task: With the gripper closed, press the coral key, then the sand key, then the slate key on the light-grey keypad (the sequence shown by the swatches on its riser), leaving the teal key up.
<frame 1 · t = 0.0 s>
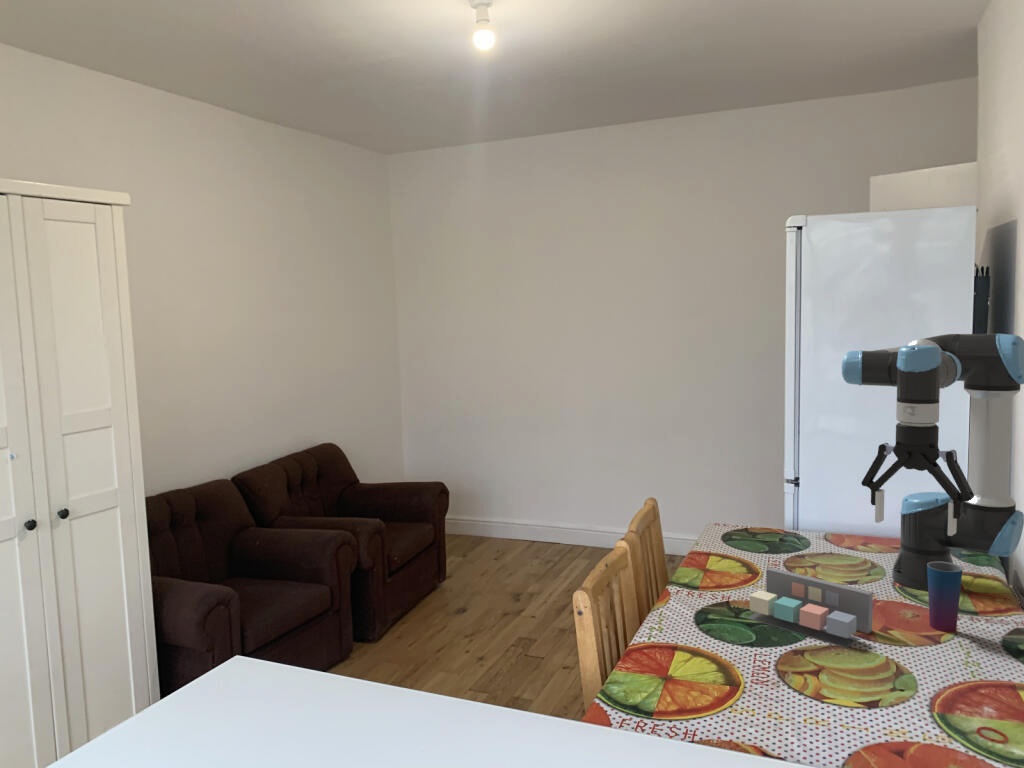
hand: (914, 527, 153), 28 cm above the table, fingers open, 13 cm apart
keypad: (803, 630, 172), on the table
teal key: (788, 609, 172), point 5 cm above the table, slide at 0.0 cm
coral key: (814, 616, 168), point 5 cm above the table, slide at 0.0 cm
sand key: (763, 602, 177), point 5 cm above the table, slide at 0.0 cm
slate key: (841, 624, 164), point 5 cm above the table, slide at 0.0 cm
cup: (942, 632, 169), on the table
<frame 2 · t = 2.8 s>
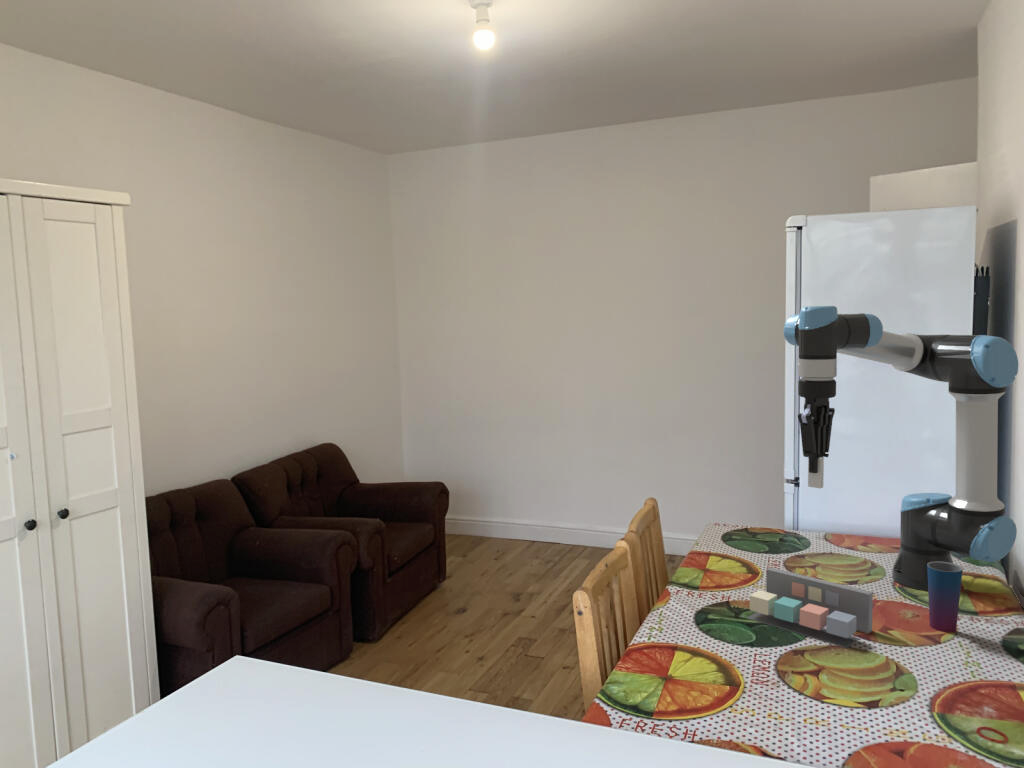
hand: (815, 486, 165), 34 cm above the table, fingers closed
nothing on the table moved.
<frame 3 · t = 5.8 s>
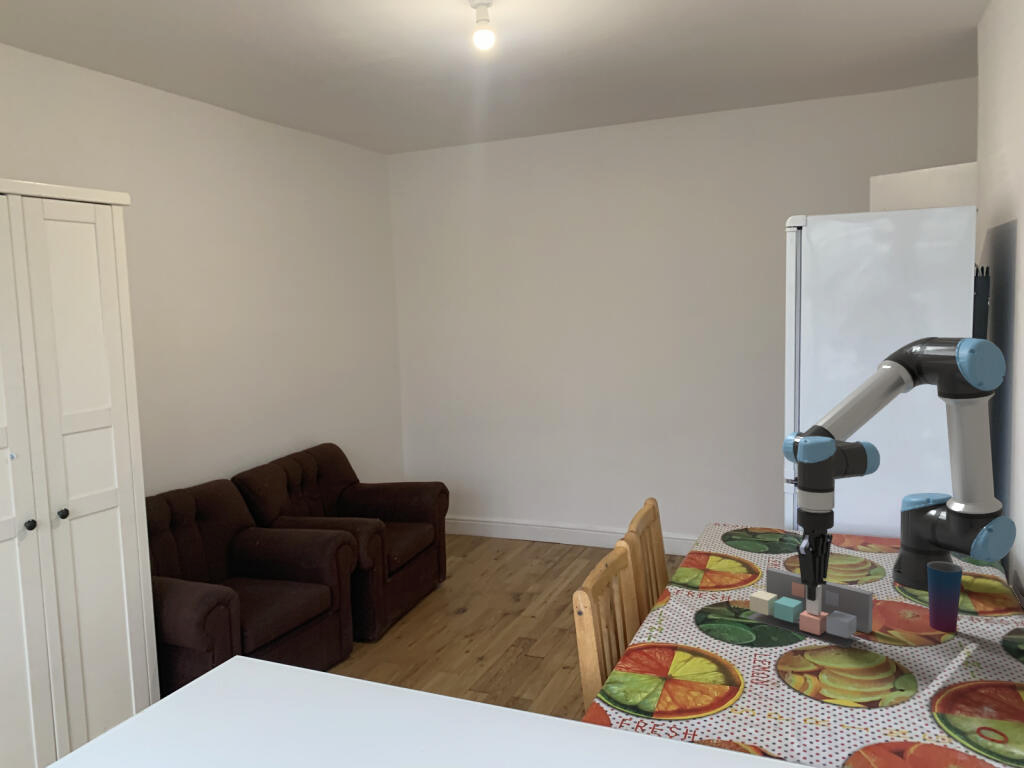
hand: (813, 612, 168), 6 cm above the table, fingers closed
coral key: (814, 621, 168), point 4 cm above the table, slide at 1.1 cm, touching gripper
everything else where it was.
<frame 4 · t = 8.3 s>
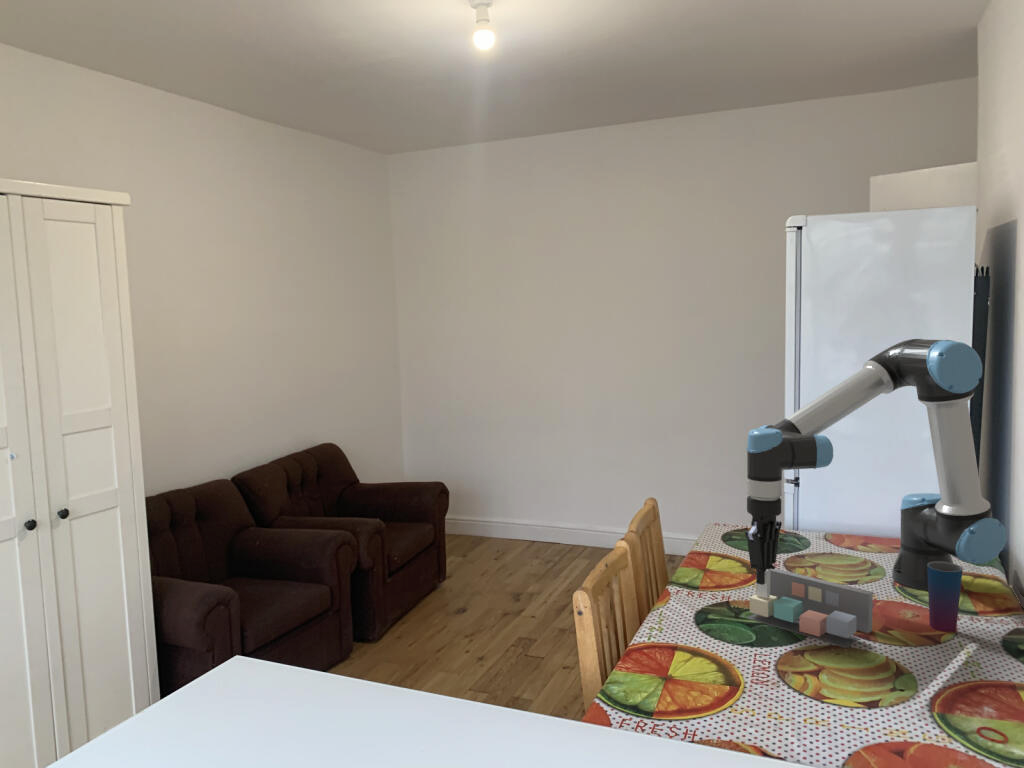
hand: (763, 596, 176), 6 cm above the table, fingers closed
coral key: (814, 623, 168), point 3 cm above the table, slide at 1.5 cm
sand key: (763, 604, 177), point 4 cm above the table, slide at 0.5 cm, touching gripper
everything else where it was.
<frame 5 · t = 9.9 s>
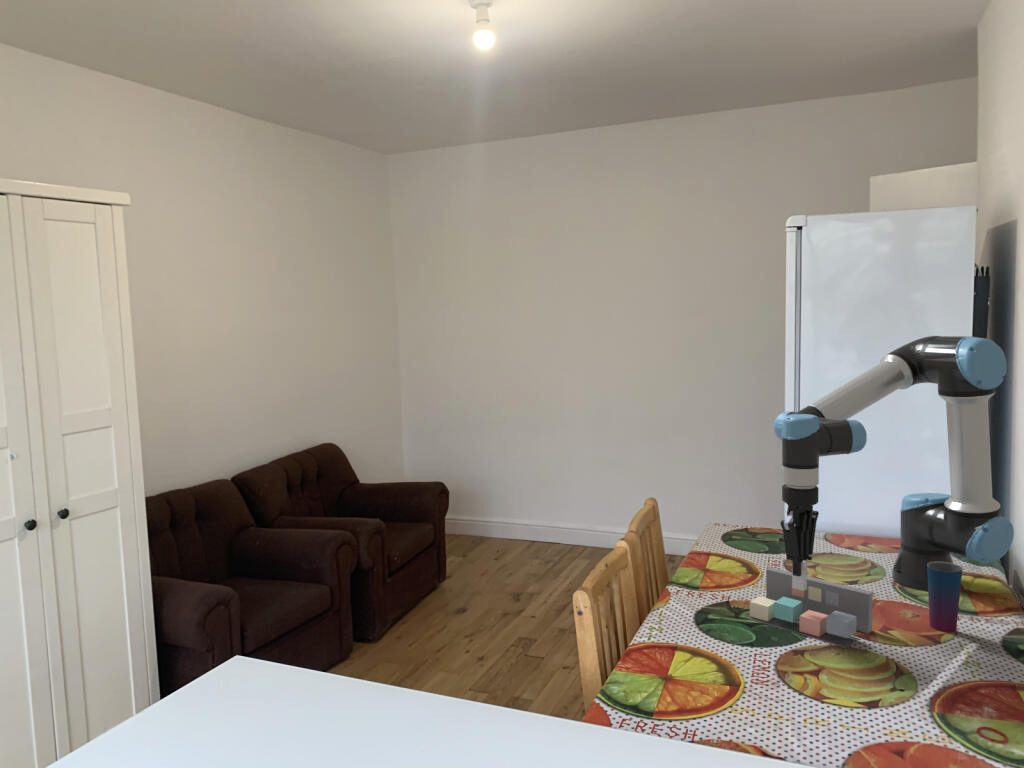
hand: (799, 588, 170), 10 cm above the table, fingers closed
sand key: (763, 608, 177), point 3 cm above the table, slide at 1.5 cm
everything else where it was.
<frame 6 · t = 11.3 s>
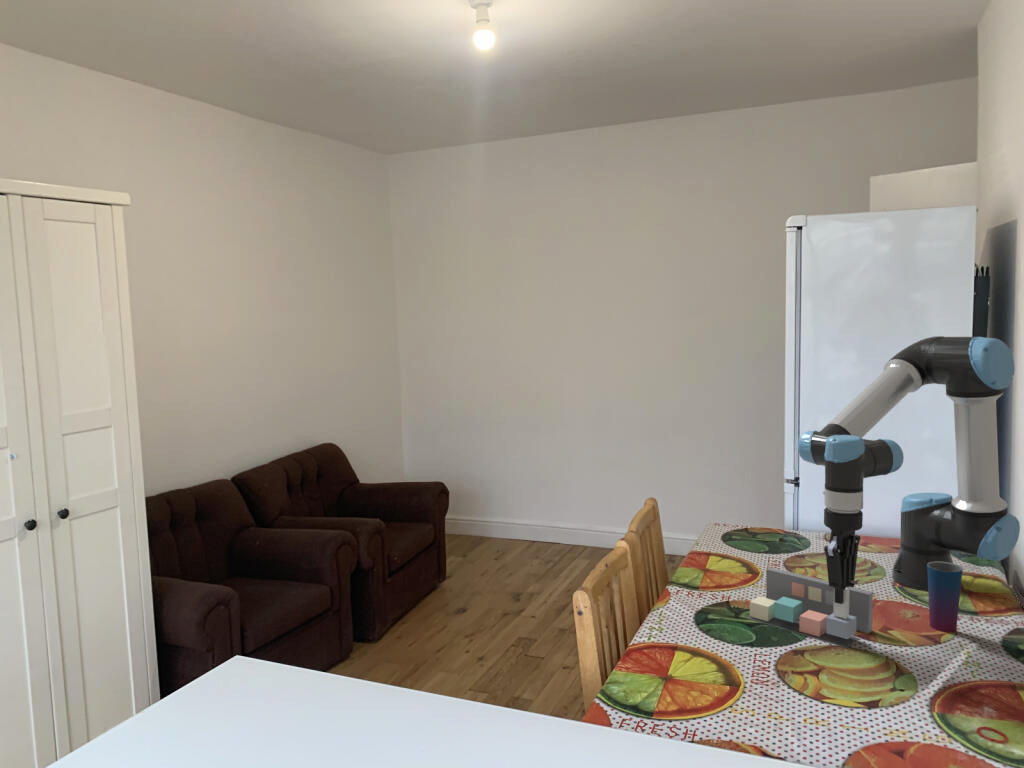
hand: (841, 616, 163), 6 cm above the table, fingers closed
slate key: (841, 625, 164), point 4 cm above the table, slide at 0.2 cm, touching gripper
everything else where it was.
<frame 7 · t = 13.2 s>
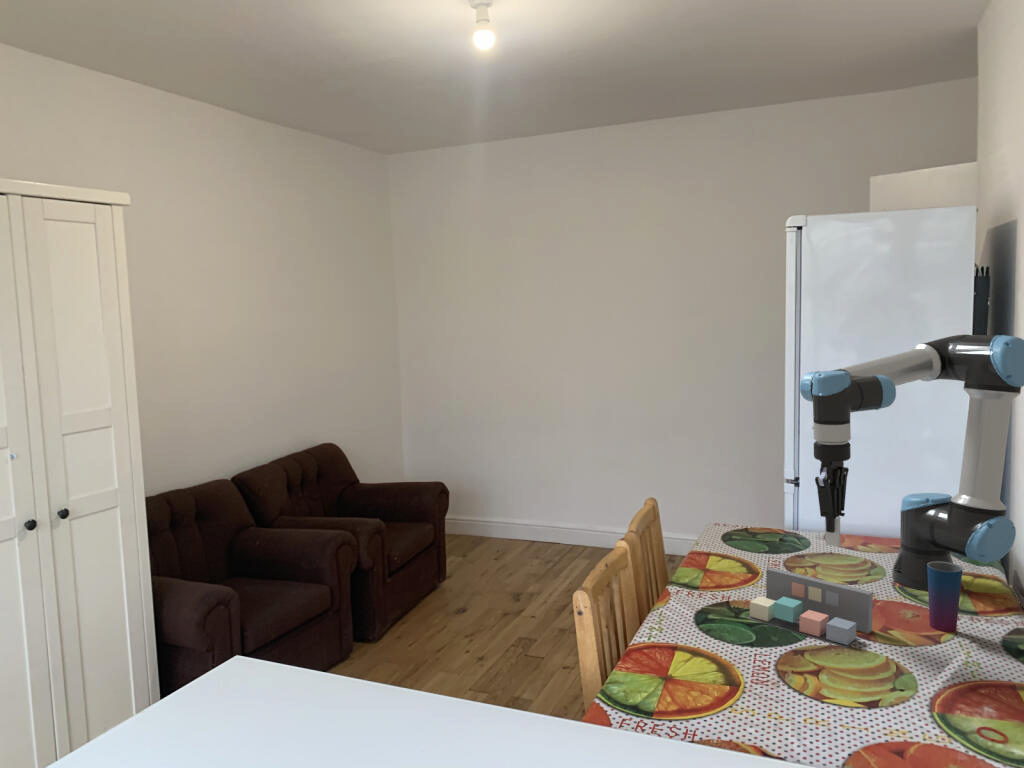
hand: (832, 544, 171), 19 cm above the table, fingers closed
slate key: (841, 630, 164), point 3 cm above the table, slide at 1.5 cm
everything else where it was.
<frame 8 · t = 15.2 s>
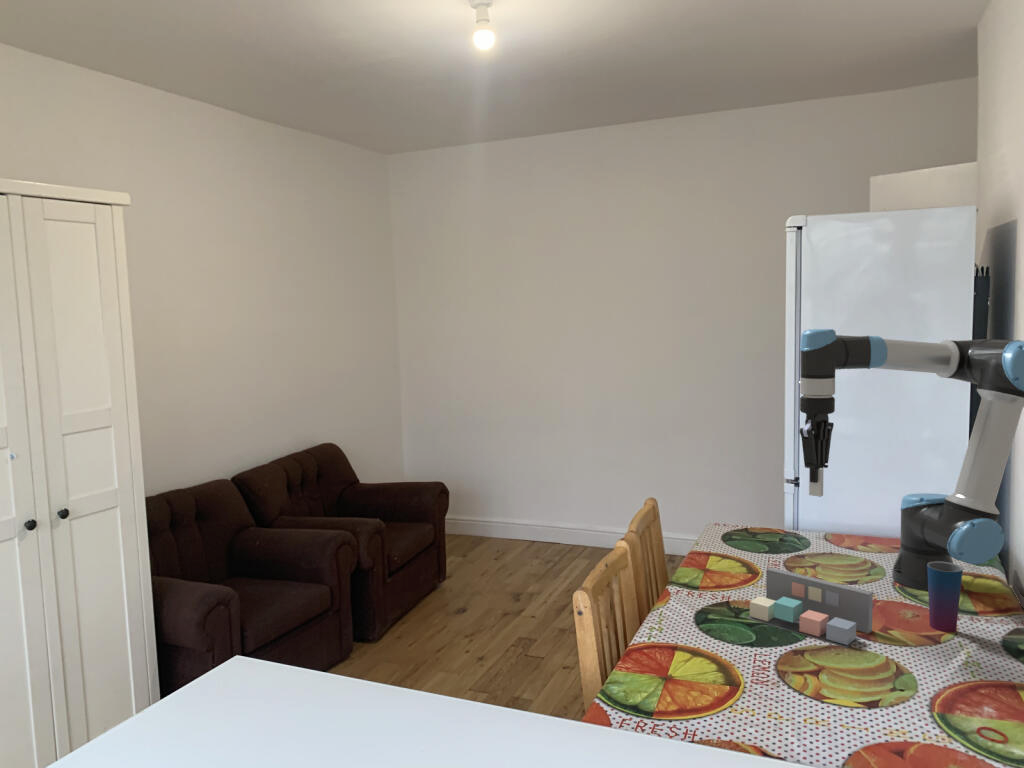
hand: (816, 495, 179), 28 cm above the table, fingers closed
nothing on the table moved.
at the end: coral key slide at 1.5 cm; sand key slide at 1.5 cm; slate key slide at 1.5 cm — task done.
